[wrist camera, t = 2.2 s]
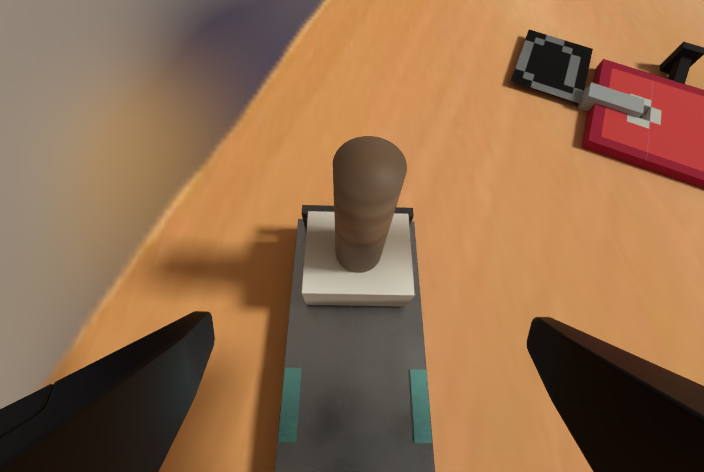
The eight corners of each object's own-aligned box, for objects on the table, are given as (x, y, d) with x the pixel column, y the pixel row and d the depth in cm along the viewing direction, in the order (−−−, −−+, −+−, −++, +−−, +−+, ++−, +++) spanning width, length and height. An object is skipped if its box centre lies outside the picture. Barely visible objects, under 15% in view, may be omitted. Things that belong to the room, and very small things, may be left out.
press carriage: (406, 306, 20) (464, 230, 10) (306, 304, 19) (276, 225, 10) (401, 232, 22) (446, 114, 13) (311, 230, 22) (290, 109, 12)
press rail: (434, 557, 16) (458, 598, 13) (271, 558, 16) (254, 599, 13) (409, 231, 24) (420, 206, 21) (300, 228, 24) (294, 203, 20)
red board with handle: (527, 28, 35) (494, 122, 30) (542, 0, 33) (509, 97, 27) (834, 122, 31) (867, 253, 25) (878, 98, 29) (926, 238, 23)
